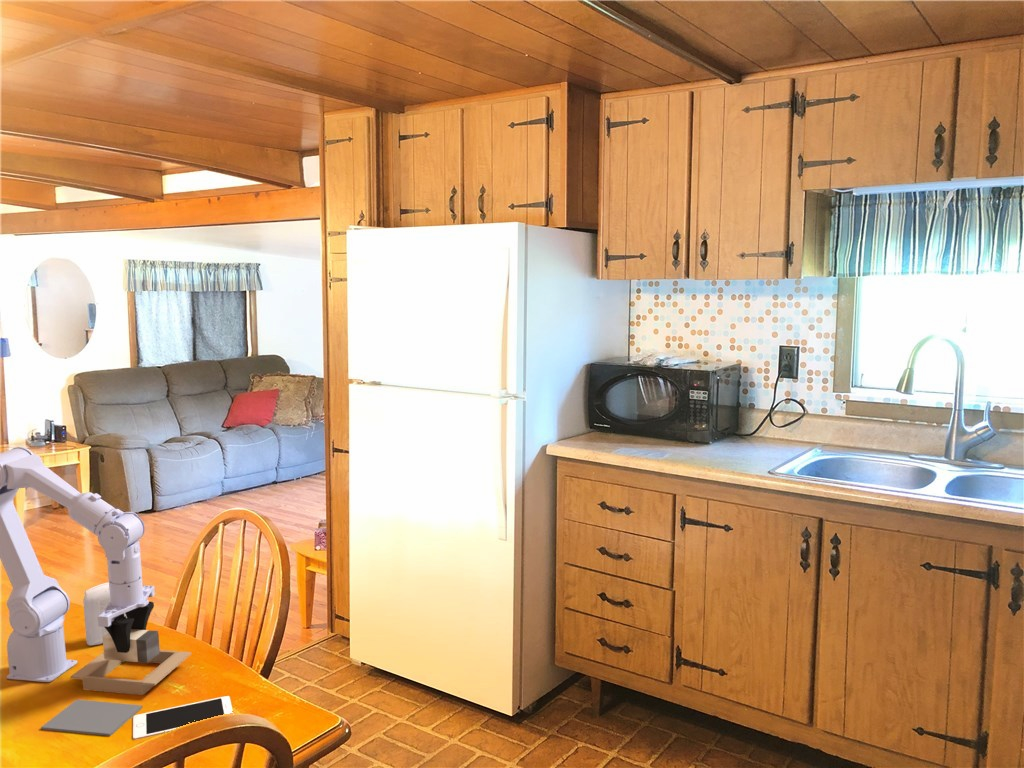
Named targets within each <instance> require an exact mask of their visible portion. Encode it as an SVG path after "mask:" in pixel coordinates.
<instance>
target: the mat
mask: <svg viewBox="0 0 1024 768" xmlns="http://www.w3.org/2000/svg"><path fill="white" fill-rule="evenodd" d="M142 708H143V705H140V704H133V703H132V704H131V703H122V702H121V703H120V702H119V703H118V702H108V701H97V700H88V699H87V700H86V699H76V700H74V701H73V702H72V703H71V704H69V705H67V706H66V707H64V709H63V710H61V711H60V712H58V713H57V714H56V715H55V716H53V717H52V718H51V719H50V720H48V721H47V722H46V723H44V724H43V725H42V726H40V730H44V731H55V732H65V733H66V732H67V733H75V734H87V735H96V736H97V735H98V736H106V737H107V736H108V737H111V736H112V735H113V734H114V733H115V732H117V731H118V730H119V729H120V728H121V727H123V725H124V724H125V723H127V722H128V721H129V720H130V719H132V718H133V717H134V716H135V715H137V713H138V712H139V711H140V710H141V709H142Z"/></svg>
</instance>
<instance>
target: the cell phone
mask: <svg viewBox="0 0 1024 768" xmlns="http://www.w3.org/2000/svg"><path fill="white" fill-rule="evenodd" d="M232 711H233V707H232V701H231V696H229V695H227V696H226V695H225V696H220V697H215V698H211V699H205V700H200V701H197V702H193V703H192V702H191V703H187V704H181V705H178V706H173V707H168V708H167V707H166V708H164V709H158V710H154V711H148V712H145V713H139V714H134V715H133V716H132V738H133V740H140V739H144V738H148V737H153V736H158V735H162V734H165V732H167V733H170V732H169V731H171V730H174V729H176V728H179V727H180V726H183V725H186V724H189V723H188V722H190V723H192V722H196V721H200V720H203V719H207V718H211V717H214V716H218V715H223V714H230V713H233V714H234V711H233V712H232ZM194 720H195V721H194ZM164 731H165V732H164ZM171 732H172V731H171ZM160 733H161V734H160Z"/></svg>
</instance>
